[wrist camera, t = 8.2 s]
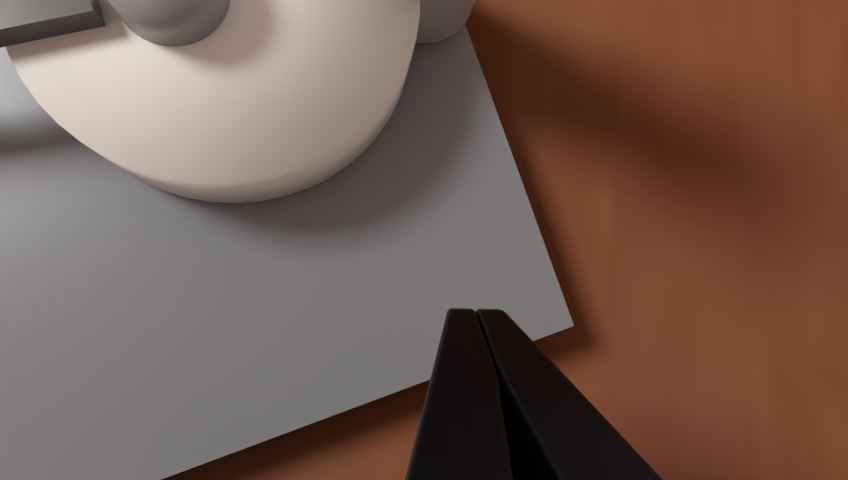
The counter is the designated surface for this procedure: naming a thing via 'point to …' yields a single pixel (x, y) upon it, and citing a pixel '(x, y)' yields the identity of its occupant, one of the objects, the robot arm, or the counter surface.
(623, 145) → the counter surface
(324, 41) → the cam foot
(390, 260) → the stand
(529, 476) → the robot arm
